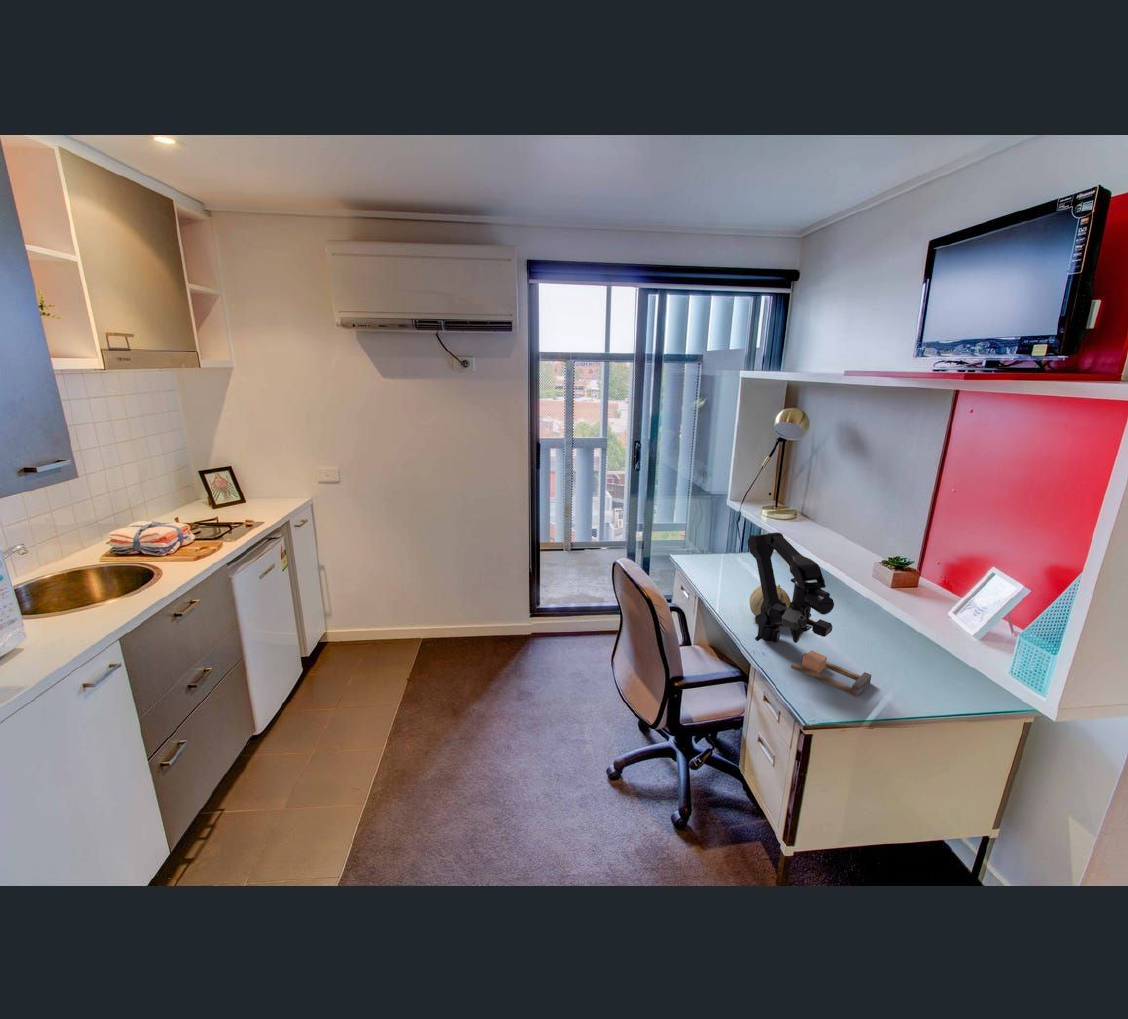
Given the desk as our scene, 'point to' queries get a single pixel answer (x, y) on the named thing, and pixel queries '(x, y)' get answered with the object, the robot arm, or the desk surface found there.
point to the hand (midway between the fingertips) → (795, 642)
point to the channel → (856, 687)
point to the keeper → (814, 661)
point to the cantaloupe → (757, 599)
